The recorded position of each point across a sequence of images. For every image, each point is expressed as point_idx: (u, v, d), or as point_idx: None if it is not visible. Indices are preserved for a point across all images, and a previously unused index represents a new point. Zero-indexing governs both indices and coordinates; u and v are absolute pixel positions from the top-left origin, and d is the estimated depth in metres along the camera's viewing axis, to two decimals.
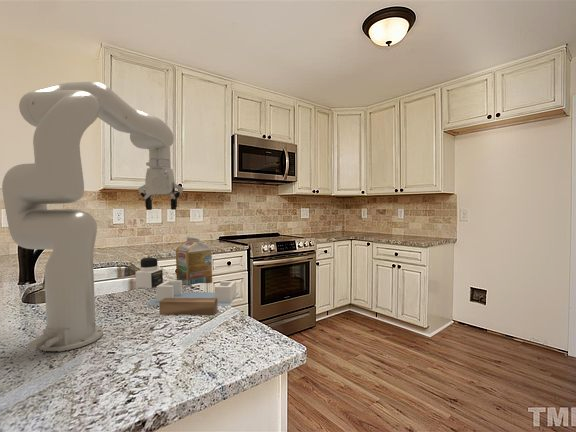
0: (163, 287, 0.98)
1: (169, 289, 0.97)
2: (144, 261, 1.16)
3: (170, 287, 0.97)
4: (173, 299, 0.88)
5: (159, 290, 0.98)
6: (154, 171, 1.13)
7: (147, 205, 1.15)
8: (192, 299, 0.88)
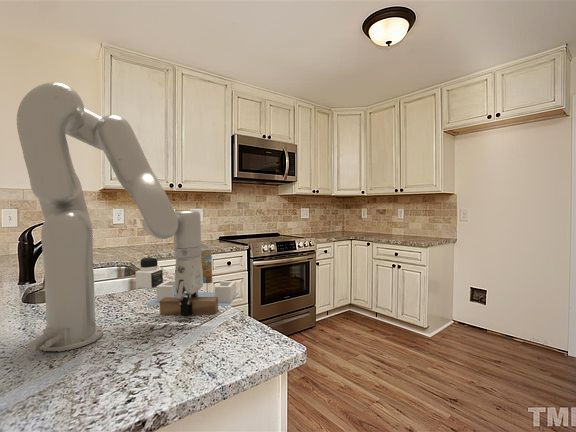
0: (163, 287, 0.98)
1: (169, 289, 0.97)
2: (144, 261, 1.16)
3: (170, 287, 0.97)
4: (173, 298, 0.88)
5: (159, 290, 0.98)
6: (196, 263, 0.86)
7: None
8: (193, 298, 0.88)
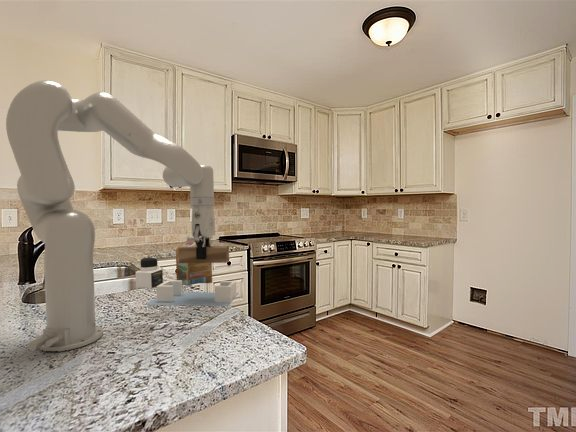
0: (163, 287, 0.98)
1: (169, 289, 0.97)
2: (144, 261, 1.16)
3: (170, 287, 0.97)
4: (190, 247, 1.01)
5: (159, 290, 0.98)
6: (209, 211, 0.99)
7: None
8: (207, 246, 1.00)
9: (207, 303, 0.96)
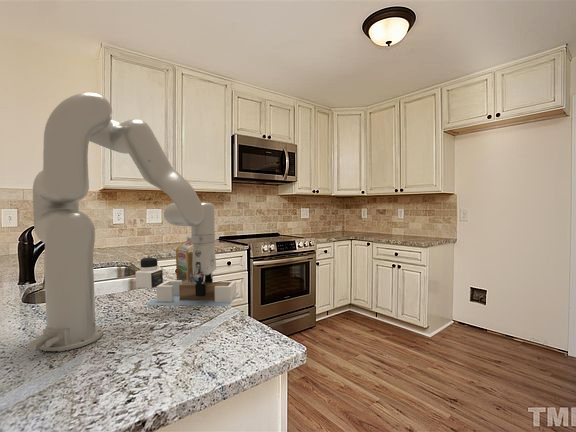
0: (163, 287, 0.98)
1: (169, 289, 0.97)
2: (144, 261, 1.16)
3: (170, 287, 0.97)
4: (191, 283, 1.01)
5: (159, 290, 0.98)
6: (210, 248, 0.99)
7: None
8: (207, 283, 1.01)
9: (207, 303, 0.96)
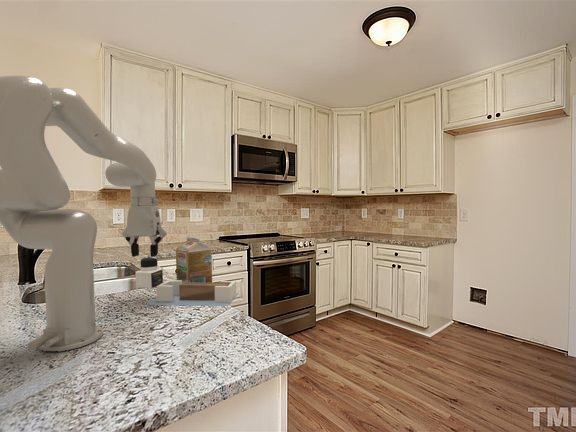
0: (163, 287, 0.98)
1: (169, 289, 0.97)
2: (144, 261, 1.16)
3: (170, 287, 0.97)
4: (191, 283, 1.01)
5: (159, 290, 0.98)
6: None
7: None
8: (207, 283, 1.01)
9: (207, 303, 0.96)
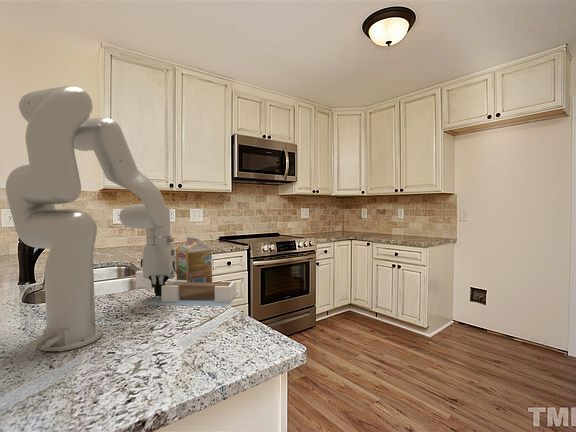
0: (168, 287, 0.97)
1: (174, 289, 0.97)
2: None
3: (175, 287, 0.97)
4: (191, 283, 1.01)
5: (164, 290, 0.98)
6: None
7: None
8: (207, 283, 1.01)
9: (207, 303, 0.96)
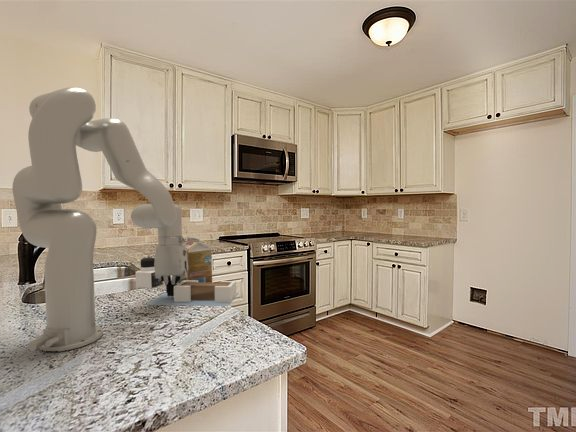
0: (180, 287, 0.97)
1: (186, 289, 0.97)
2: (144, 261, 1.16)
3: (187, 287, 0.97)
4: (192, 283, 1.01)
5: (176, 290, 0.97)
6: None
7: None
8: (208, 283, 1.01)
9: (207, 303, 0.96)
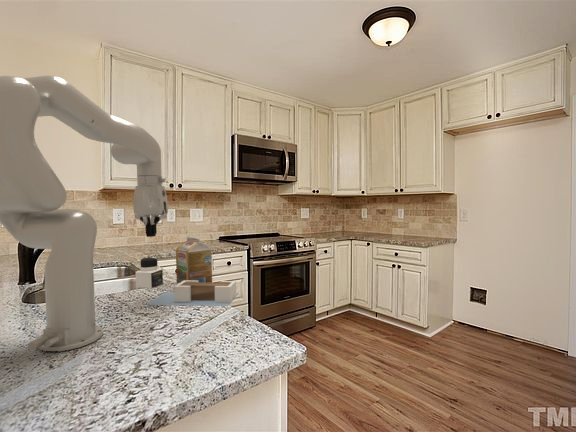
0: (180, 287, 0.97)
1: (187, 289, 0.97)
2: (144, 261, 1.16)
3: (188, 287, 0.97)
4: (192, 283, 1.01)
5: (176, 290, 0.97)
6: None
7: None
8: (208, 283, 1.01)
9: (207, 303, 0.96)
